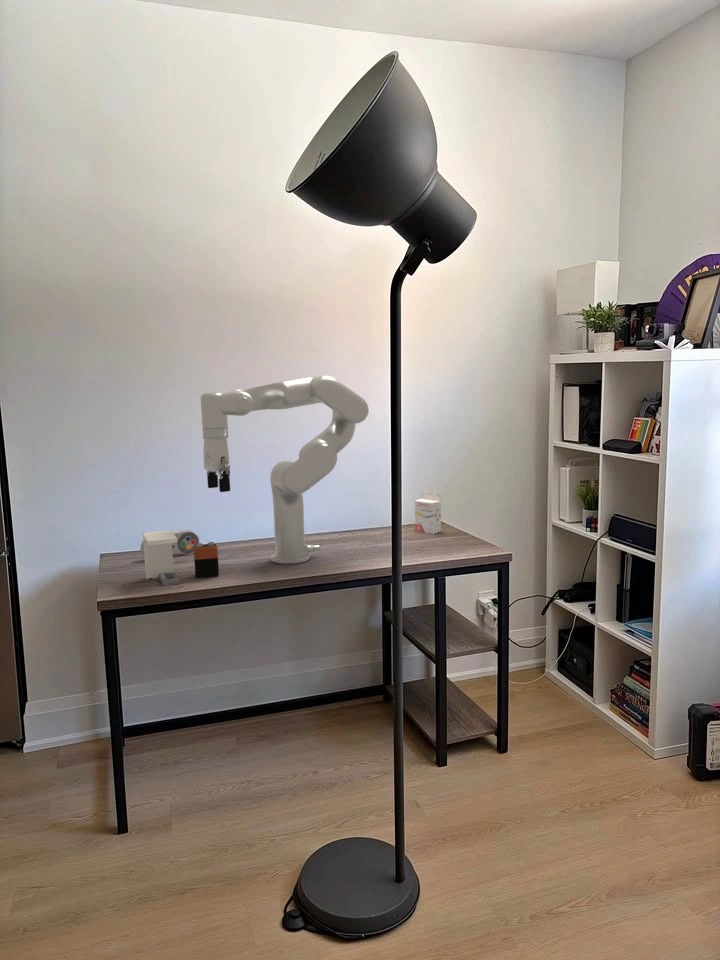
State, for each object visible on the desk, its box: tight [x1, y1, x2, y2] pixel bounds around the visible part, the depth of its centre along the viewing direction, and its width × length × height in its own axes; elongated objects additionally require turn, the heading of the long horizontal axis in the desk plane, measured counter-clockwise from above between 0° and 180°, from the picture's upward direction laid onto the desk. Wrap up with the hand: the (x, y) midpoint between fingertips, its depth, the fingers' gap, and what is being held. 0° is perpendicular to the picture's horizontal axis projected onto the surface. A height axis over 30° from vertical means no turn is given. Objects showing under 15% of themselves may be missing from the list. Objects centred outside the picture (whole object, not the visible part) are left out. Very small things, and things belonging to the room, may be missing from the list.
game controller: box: [140, 529, 200, 558], centre depth 243 cm, size 20×2×8 cm, turn 123°
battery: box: [193, 541, 220, 579], centre depth 219 cm, size 4×7×10 cm, turn 100°
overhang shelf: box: [142, 529, 180, 586], centre depth 213 cm, size 8×12×14 cm, turn 23°
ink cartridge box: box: [414, 490, 442, 535], centre depth 268 cm, size 9×5×15 cm, turn 52°
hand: (219, 489), depth 224 cm, fingers open, 9 cm apart
